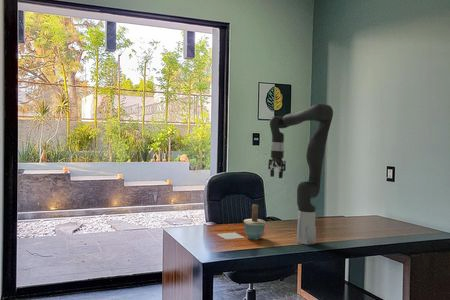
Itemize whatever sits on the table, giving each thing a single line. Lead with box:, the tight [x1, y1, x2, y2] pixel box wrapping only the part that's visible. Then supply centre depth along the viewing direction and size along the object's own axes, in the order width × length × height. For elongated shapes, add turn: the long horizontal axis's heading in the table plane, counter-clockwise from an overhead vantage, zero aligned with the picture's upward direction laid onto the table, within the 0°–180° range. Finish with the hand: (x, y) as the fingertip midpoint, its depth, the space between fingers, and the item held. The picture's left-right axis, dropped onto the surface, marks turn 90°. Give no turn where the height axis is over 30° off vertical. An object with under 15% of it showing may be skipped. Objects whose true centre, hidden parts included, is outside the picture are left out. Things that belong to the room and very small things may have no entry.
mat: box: [216, 232, 246, 240], centre depth 215 cm, size 12×12×1 cm
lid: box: [243, 203, 266, 226], centre depth 212 cm, size 12×12×10 cm
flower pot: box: [243, 222, 265, 241], centre depth 212 cm, size 9×9×9 cm
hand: (276, 177), depth 227 cm, fingers open, 8 cm apart
